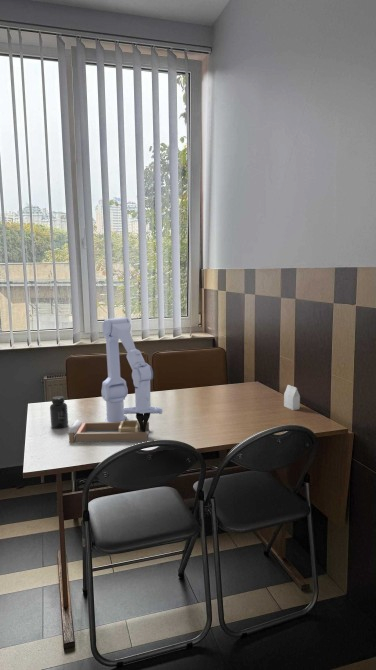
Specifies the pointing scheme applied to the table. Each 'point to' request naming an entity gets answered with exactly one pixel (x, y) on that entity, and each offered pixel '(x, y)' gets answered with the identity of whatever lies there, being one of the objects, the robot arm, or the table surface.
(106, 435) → the bay
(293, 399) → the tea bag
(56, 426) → the supplement bottle
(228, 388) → the table surface
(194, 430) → the table surface
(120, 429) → the crate
